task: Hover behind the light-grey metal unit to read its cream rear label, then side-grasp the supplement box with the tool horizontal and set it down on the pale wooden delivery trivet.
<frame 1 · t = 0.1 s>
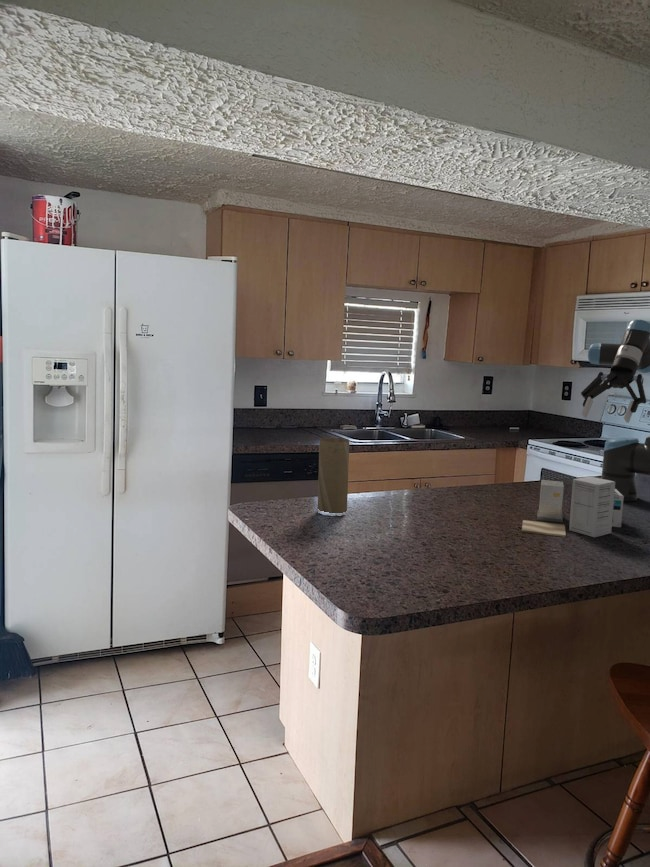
hand: (604, 418, 207), 36 cm above the countertop, tool tilted 35°, fingers open, 13 cm apart
trivet: (543, 529, 209), on the countertop
light bulb box: (606, 523, 219), on the countertop
unit: (549, 517, 222), on the countertop
supplement box: (589, 532, 207), on the countertop
tube: (332, 513, 221), on the countertop
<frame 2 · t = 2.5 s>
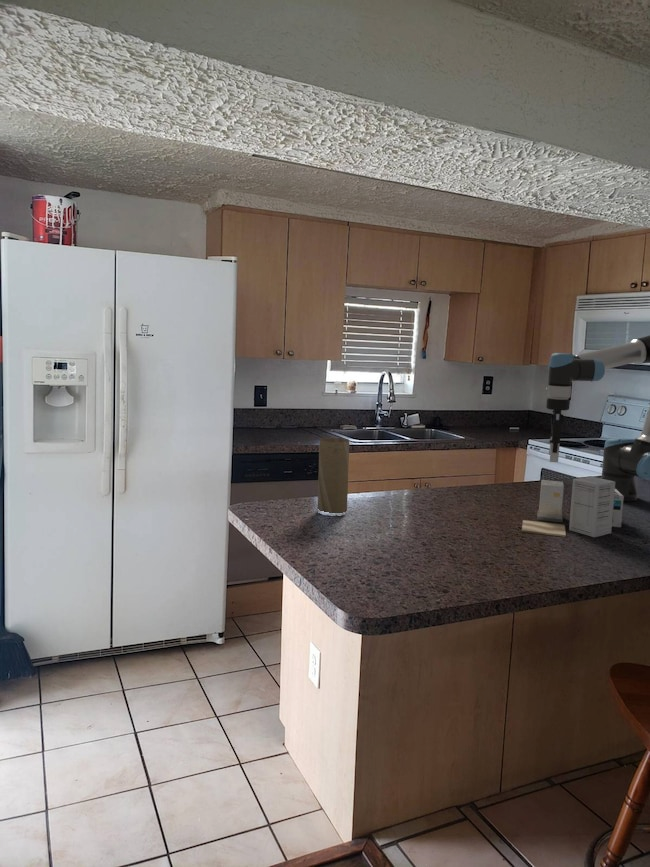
hand: (553, 458, 229), 19 cm above the countertop, tool pointing down, fingers open, 13 cm apart
nothing on the countertop moved.
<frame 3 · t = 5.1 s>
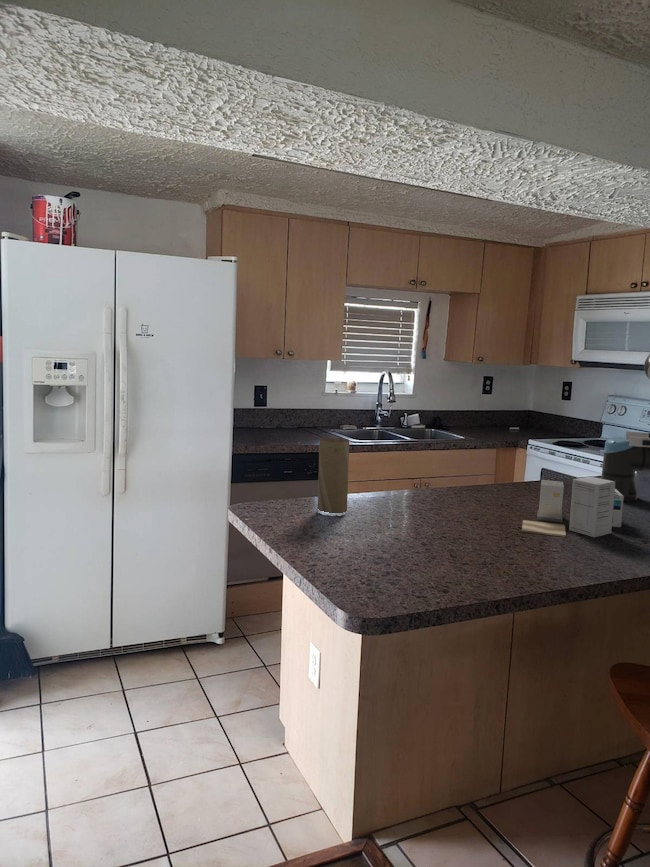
hand: (627, 438, 201), 31 cm above the countertop, tool horizontal, fingers open, 13 cm apart
nothing on the countertop moved.
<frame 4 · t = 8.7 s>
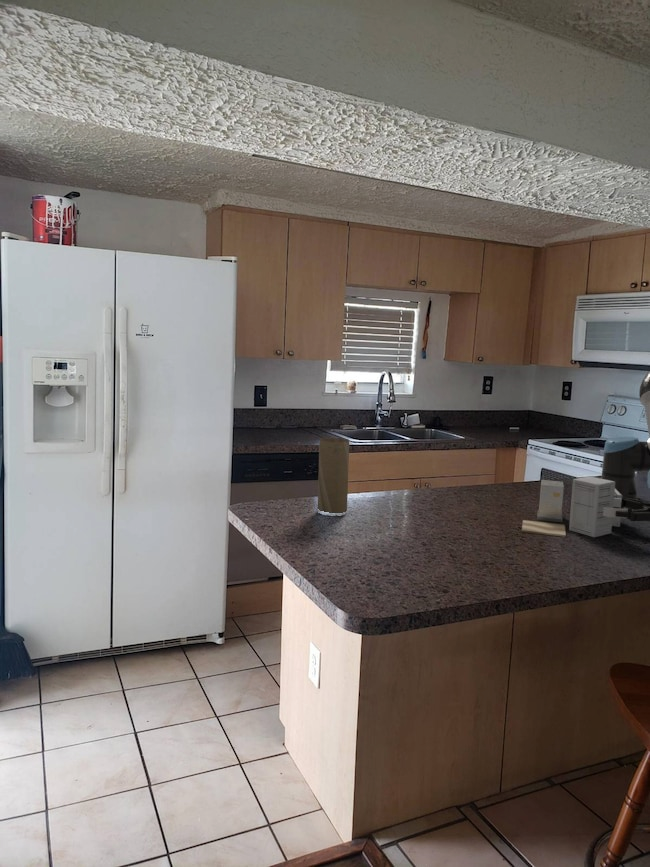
hand: (601, 506, 205), 9 cm above the countertop, tool horizontal, fingers open, 13 cm apart
light bulb box: (606, 522, 219), on the countertop, touching gripper
everything else where it was.
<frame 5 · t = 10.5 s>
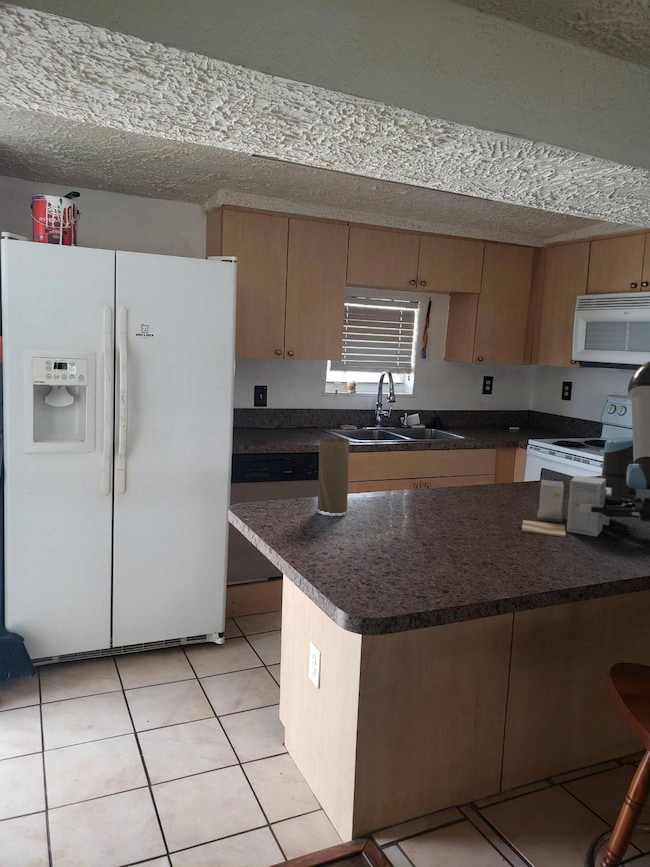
hand: (578, 502, 207), 9 cm above the countertop, tool horizontal, fingers closed on supplement box, 11 cm apart
light bulb box: (598, 521, 221), on the countertop
supplement box: (584, 531, 208), on the countertop, touching gripper
everything else where it was.
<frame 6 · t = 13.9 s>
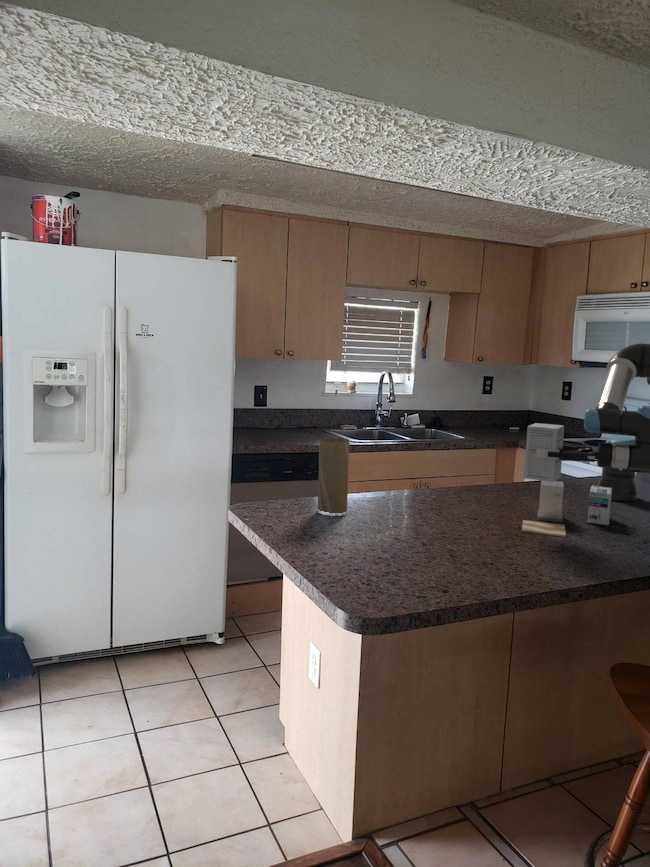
hand: (536, 449, 206), 26 cm above the countertop, tool horizontal, fingers closed on supplement box, 11 cm apart
supplement box: (542, 478, 207), point 16 cm above the countertop, touching gripper
everything else where it was.
when the fingers open (10 cm above the countertop, at t = 17.8 s): supplement box stays where it is, resting on trivet.
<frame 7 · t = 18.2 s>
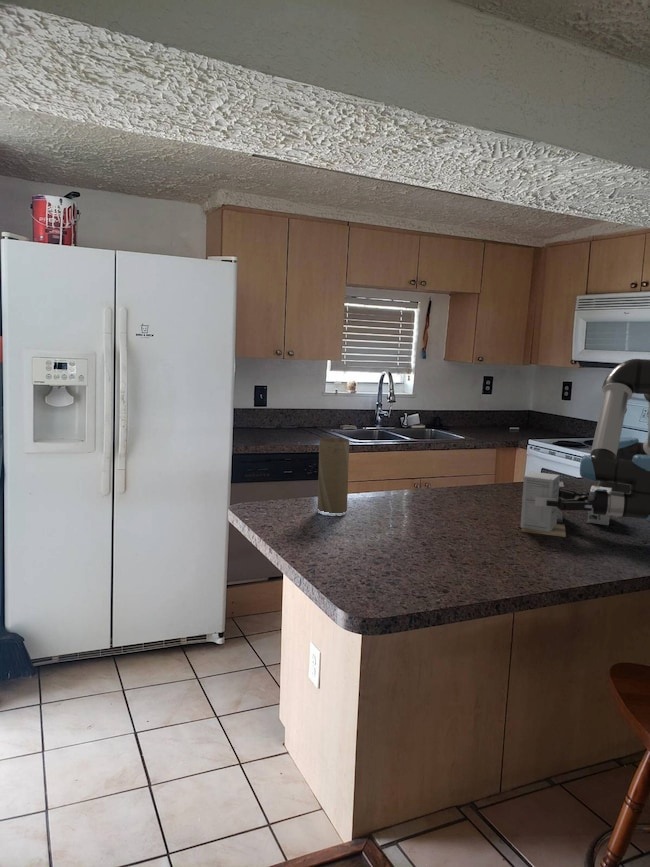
hand: (535, 496, 208), 10 cm above the countertop, tool horizontal, fingers open, 13 cm apart
supplement box: (538, 527, 209), resting on trivet
everything else where it was.
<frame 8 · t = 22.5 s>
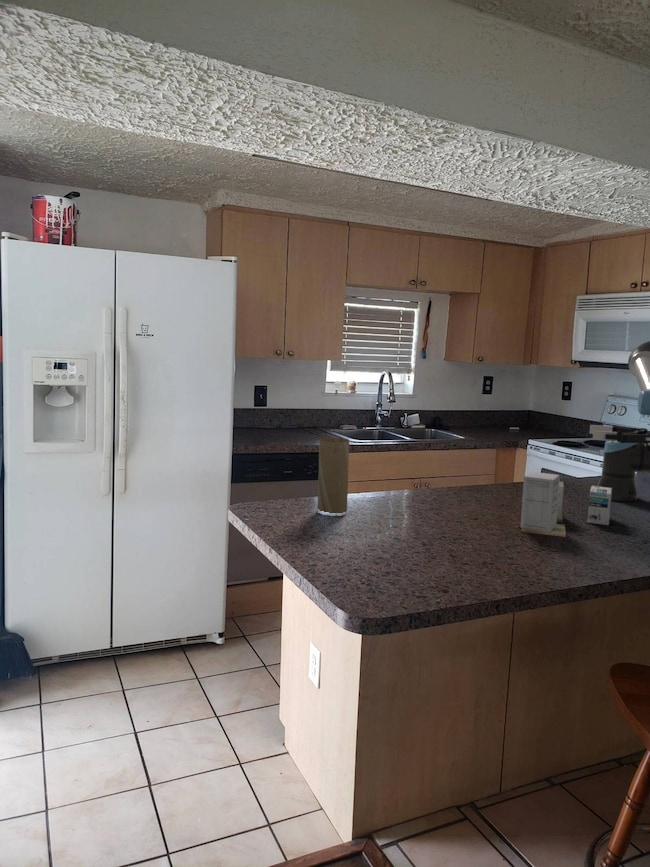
hand: (591, 432, 202), 32 cm above the countertop, tool horizontal, fingers open, 13 cm apart
nothing on the countertop moved.
at the end: supplement box inside the target area on the trivet (1.6 cm from its centre), point 0.4 cm above the trivet's base; supplement box tilted 0°; the gripper is holding nothing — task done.
